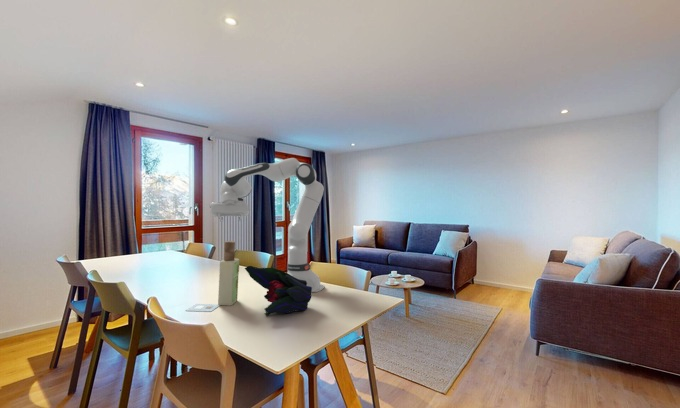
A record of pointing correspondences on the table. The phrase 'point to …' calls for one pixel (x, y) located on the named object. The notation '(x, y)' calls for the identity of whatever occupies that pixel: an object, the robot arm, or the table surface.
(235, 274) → the tall cream box
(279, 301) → the decorative plant
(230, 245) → the walnut block
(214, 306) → the page
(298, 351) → the table surface
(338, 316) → the table surface
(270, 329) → the table surface
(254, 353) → the table surface
